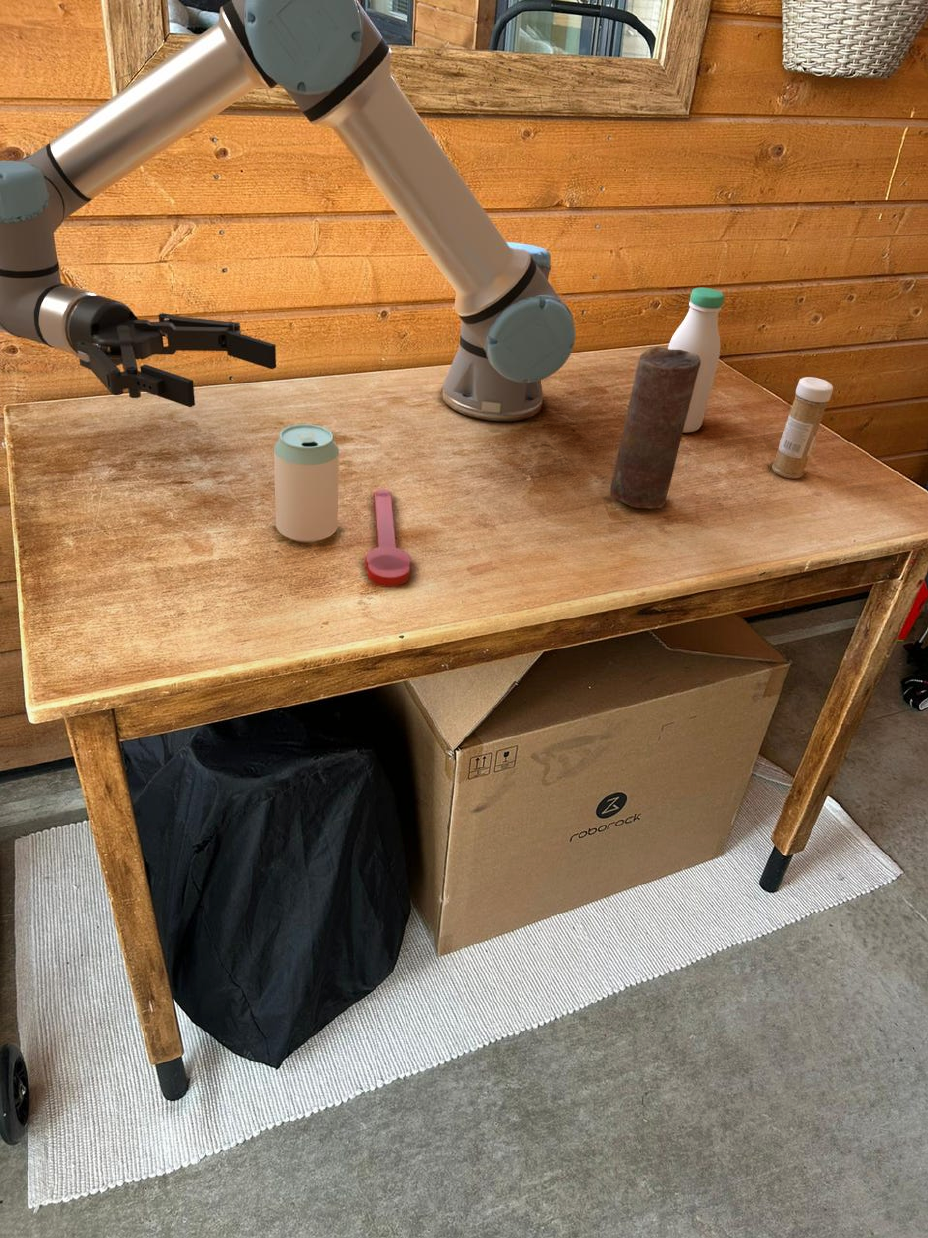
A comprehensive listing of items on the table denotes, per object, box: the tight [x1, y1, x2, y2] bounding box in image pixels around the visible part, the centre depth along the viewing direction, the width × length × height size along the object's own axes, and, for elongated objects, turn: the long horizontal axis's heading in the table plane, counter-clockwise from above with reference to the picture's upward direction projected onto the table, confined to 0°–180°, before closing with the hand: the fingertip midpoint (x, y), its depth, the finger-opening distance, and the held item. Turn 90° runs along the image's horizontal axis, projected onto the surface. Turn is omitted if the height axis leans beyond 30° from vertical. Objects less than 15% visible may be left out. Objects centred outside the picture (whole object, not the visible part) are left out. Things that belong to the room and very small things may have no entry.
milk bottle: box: [667, 287, 725, 433], centre depth 137 cm, size 8×8×20 cm
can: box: [273, 423, 340, 543], centre depth 104 cm, size 7×7×12 cm
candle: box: [609, 346, 701, 510], centre depth 115 cm, size 8×7×20 cm
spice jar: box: [771, 376, 834, 479], centre depth 129 cm, size 5×5×13 cm
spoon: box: [364, 488, 412, 588], centre depth 108 cm, size 20×5×1 cm, turn 6°
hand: (235, 374), depth 102 cm, fingers open, 13 cm apart
